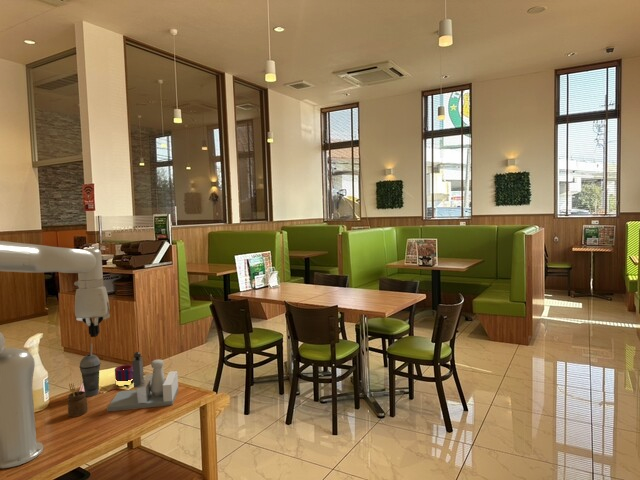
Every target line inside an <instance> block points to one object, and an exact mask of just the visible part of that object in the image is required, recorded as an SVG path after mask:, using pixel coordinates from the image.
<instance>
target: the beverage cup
mask: <svg viewBox="0 0 640 480" xmlns="http://www.w3.org/2000/svg"><path fill="white" fill-rule="evenodd" d="M79 369H80V373H81V378H82V382H83V383H82V386H83V391H84V392H85V394H86V395H85V397H86V398H87V397H94V396H97V395H98V394H99V389H100V369H101V360H100V358H99V357H98V356H97V355H96V354H93V343H90V353H89V354H87V355H85V356H84V357H82V358H81V360H80V362H79Z"/></svg>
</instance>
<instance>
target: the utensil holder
mask: <svg viewBox="0 0 640 480" xmlns="http://www.w3.org/2000/svg"><path fill="white" fill-rule="evenodd" d="M79 382H80V384H83V381H82V380H77V381H76V382H75V383H74V382H73V383H68V386H69V391H70V392H71V393H70V394H69V395H68V397H67V398H68V401H67V413H68V415H69V417H72V418H73V417H75V418H76V417H80V416H83V415H84V414H85V415H86V414H87V412H88V399H87V396H85V395H86V394H85V391H84V390H82V389H81V388H82V386H80V388H79V389H80V390H78V389H76V386H75V384H78V383H79ZM81 382H82V383H81Z"/></svg>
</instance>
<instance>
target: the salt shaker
mask: <svg viewBox="0 0 640 480" xmlns="http://www.w3.org/2000/svg"><path fill="white" fill-rule="evenodd" d="M164 365H165V363H164V360H163V359H154V360H152V361H151V363H150V366H151V368H152V370H153V371H152V373H153V376H152V382H151V389H150V390H151V392H152V394H153V396H155V397H159V396H163V384H164V382H165V380H166V378H165V372H164V369H163V367H164Z"/></svg>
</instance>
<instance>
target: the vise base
mask: <svg viewBox="0 0 640 480" xmlns="http://www.w3.org/2000/svg"><path fill="white" fill-rule="evenodd" d="M178 391H179V376H178V370H175V371H174V370H173V371H169V372H168V374H167V376H166V378H165V382H164V384H163V396H159V397H155V396H153V394H151V396H150V397H149V399H148V401H147V403H138V396H137V389H133V390H123V391H121V390H120V391H118V392H117V394H115V396H114V398H113V399H112V400H111V402H110V403H109V404H108V406H107V412H116V411H126V410H135V409H145V408H147V409H148V408H154V407H155V408H156V407H165V406H173V404H174V402H175V400H176V397H177V395H178Z"/></svg>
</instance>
